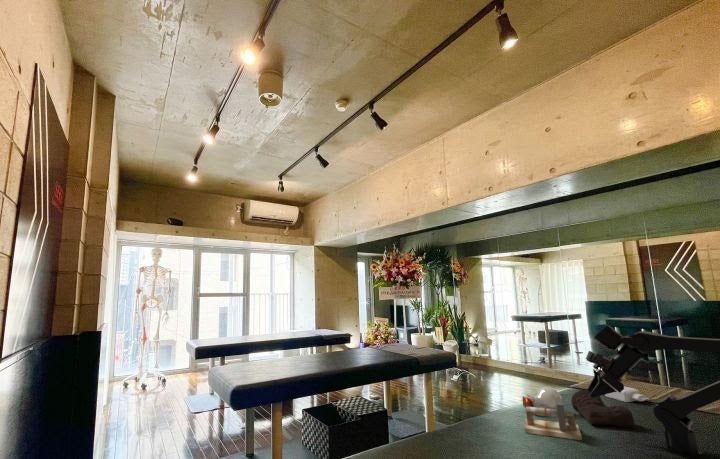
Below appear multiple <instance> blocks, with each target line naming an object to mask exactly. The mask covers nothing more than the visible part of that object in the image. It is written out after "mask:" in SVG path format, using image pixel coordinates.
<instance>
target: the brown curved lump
mask: <svg viewBox="0 0 720 459" xmlns="http://www.w3.org/2000/svg"><path fill="white" fill-rule="evenodd" d="M590 394H591V392H589V391H588V390H587V389H582V390H578V391H576V392H575V393H574V394H573V395H572V396H571V405H572V408H573V409H574V410H575V412H577V413H578V414H580V415H582V417H583V418H584V419H585V420H586V421H588V423H589V424H590V425H596V426H597V425H598V426H605V425H609V426H611V425H612V426H615V427H621V428H629V427H633V426H634V425H635V419H634V416H633V414H632V411H631V410H630V409H629V408H628V407H627V406H625V405H619V404H618V405H610V406H607V405H606V404H605V402H604V401H603V399H602V397H601V396H598V397H594V398H592V397H591V396H590Z"/></svg>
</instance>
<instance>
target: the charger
mask: <svg viewBox="0 0 720 459" xmlns="http://www.w3.org/2000/svg"><path fill="white" fill-rule="evenodd" d="M615 390H616V389H615ZM616 391H617V390H616ZM605 397H607V398H610V399H614V400H617V401H621V402H624V403H631V402H644V401H647V400H650V398H648V397H647V396H646V395H644V394H641V393H640V391H639V390H638V389H637V388H634V387H628V386H625V385H624V390H622V391H621V392H620V393H619V392H618V391H617V392H613V393H609V394H605Z"/></svg>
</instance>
